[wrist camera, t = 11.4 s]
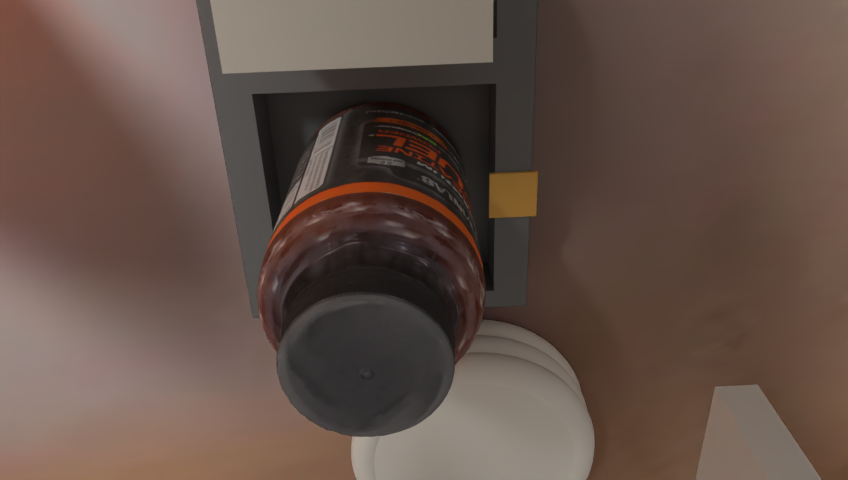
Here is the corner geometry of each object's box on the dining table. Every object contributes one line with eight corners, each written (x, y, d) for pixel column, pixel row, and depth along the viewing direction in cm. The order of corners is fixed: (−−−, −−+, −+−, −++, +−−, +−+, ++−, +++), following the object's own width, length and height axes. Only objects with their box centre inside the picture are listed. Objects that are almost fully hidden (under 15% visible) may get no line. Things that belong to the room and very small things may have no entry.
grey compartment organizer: (172, -273, 20) (31, -355, 12) (540, -288, 20) (624, -377, 12) (264, 283, 28) (214, 434, 21) (522, 271, 28) (564, 418, 21)
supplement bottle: (496, 146, 25) (558, 332, 15) (412, 272, 28) (419, 505, 18) (345, 62, 24) (304, 208, 14) (271, 204, 26) (189, 416, 16)
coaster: (577, 478, 34) (594, 540, 31) (369, 495, 34) (365, 558, 31) (582, 303, 29) (603, 355, 26) (340, 323, 29) (333, 377, 26)
